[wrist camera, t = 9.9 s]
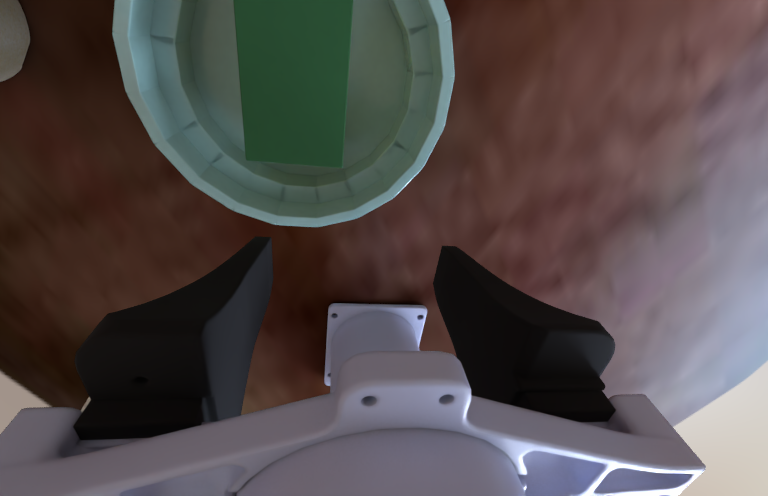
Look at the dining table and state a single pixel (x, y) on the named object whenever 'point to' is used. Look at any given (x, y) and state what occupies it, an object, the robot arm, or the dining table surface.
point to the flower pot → (12, 38)
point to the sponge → (294, 79)
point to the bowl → (224, 110)
